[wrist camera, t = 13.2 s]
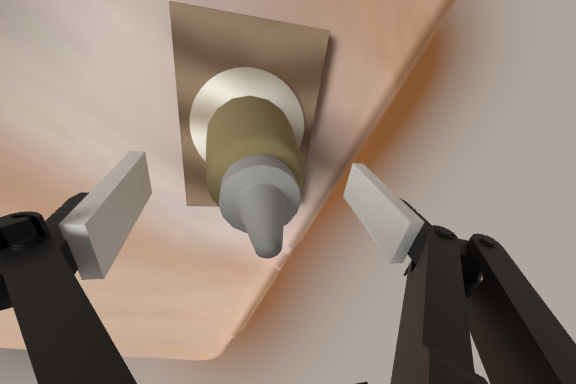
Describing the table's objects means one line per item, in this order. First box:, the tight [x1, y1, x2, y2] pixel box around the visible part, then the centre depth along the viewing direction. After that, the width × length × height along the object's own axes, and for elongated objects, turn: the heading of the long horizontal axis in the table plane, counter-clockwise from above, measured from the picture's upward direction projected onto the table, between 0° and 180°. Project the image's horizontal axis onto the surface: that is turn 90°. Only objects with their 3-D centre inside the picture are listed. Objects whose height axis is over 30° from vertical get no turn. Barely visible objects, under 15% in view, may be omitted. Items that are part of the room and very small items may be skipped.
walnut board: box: [169, 1, 330, 206], centre depth 27 cm, size 20×14×2 cm
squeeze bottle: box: [206, 95, 305, 258], centre depth 18 cm, size 8×8×18 cm
